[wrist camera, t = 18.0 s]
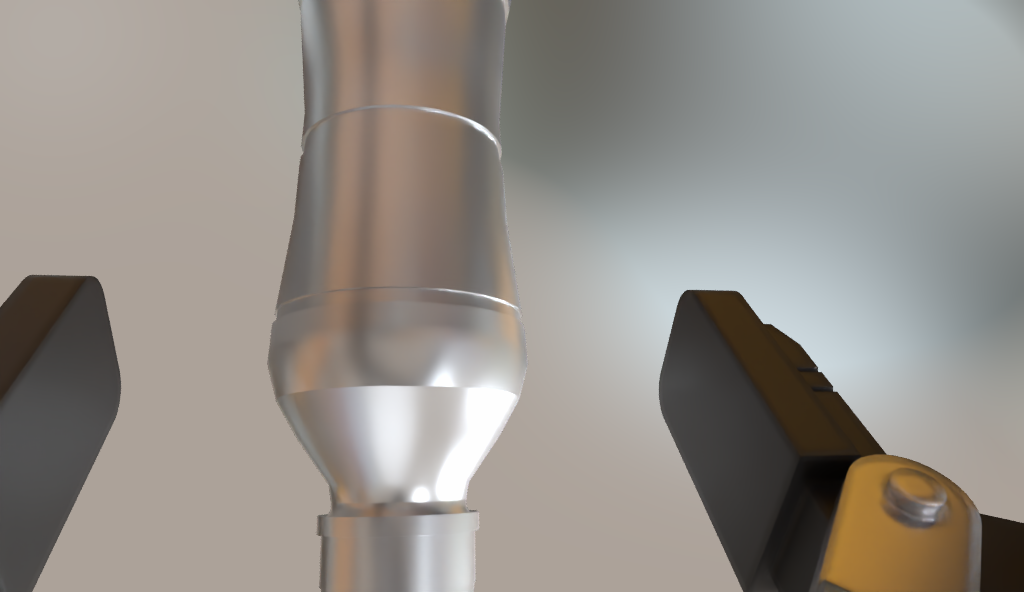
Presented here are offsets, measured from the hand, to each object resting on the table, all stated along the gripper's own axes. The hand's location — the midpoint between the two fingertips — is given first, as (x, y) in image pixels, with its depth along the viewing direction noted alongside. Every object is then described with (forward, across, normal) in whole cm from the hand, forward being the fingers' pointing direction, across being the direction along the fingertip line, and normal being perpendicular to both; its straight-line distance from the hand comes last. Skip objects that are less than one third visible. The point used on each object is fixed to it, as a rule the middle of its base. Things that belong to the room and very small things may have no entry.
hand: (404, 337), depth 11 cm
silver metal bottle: (+17, 0, -5) cm, 18 cm away
